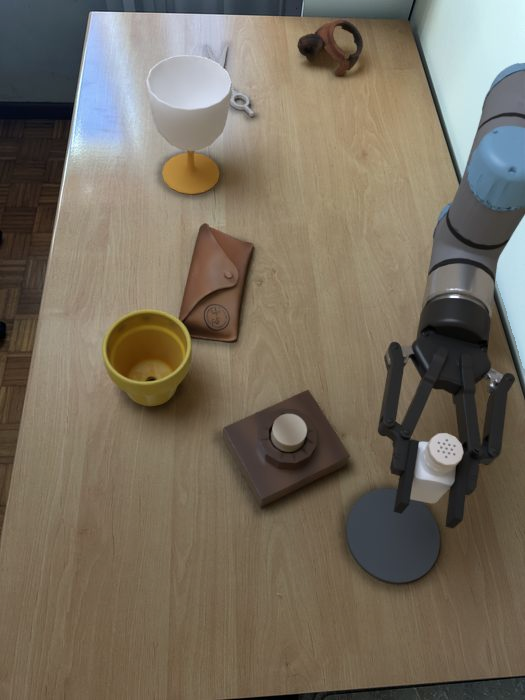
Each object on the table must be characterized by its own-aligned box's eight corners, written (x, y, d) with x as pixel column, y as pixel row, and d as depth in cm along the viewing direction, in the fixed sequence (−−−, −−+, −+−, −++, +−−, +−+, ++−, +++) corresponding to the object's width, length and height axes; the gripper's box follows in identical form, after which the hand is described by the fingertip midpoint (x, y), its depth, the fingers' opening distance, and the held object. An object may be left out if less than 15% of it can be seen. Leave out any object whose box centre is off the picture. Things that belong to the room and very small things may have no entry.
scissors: (190, 113, 111) (187, 38, 121) (191, 116, 112) (187, 42, 122) (253, 113, 113) (245, 40, 123) (253, 117, 113) (245, 43, 123)
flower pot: (196, 415, 84) (196, 378, 75) (113, 425, 82) (103, 388, 74) (188, 346, 89) (186, 304, 80) (109, 354, 87) (99, 311, 79)
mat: (439, 498, 80) (440, 496, 80) (437, 591, 75) (439, 590, 74) (349, 482, 81) (350, 480, 80) (341, 574, 75) (342, 573, 74)
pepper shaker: (435, 506, 68) (467, 473, 60) (396, 498, 68) (423, 464, 60) (437, 470, 70) (468, 433, 62) (399, 462, 70) (426, 424, 62)
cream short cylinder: (294, 415, 80) (296, 408, 78) (310, 443, 78) (313, 436, 76) (264, 429, 78) (266, 421, 77) (281, 457, 77) (283, 451, 75)
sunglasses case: (240, 342, 89) (215, 314, 84) (195, 350, 92) (169, 324, 87) (255, 240, 98) (234, 210, 94) (214, 250, 101) (191, 222, 97)
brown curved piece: (333, 40, 127) (359, 14, 120) (346, 87, 127) (373, 63, 120) (281, 37, 121) (305, 10, 114) (294, 86, 121) (319, 62, 114)
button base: (305, 399, 86) (310, 381, 82) (345, 465, 82) (353, 449, 77) (222, 437, 82) (223, 420, 78) (259, 508, 78) (263, 494, 74)
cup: (212, 210, 102) (214, 119, 87) (141, 187, 103) (131, 95, 88) (238, 160, 108) (244, 67, 93) (171, 139, 109) (166, 45, 94)
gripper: (519, 354, 76) (504, 553, 64) (371, 314, 77) (329, 502, 65) (548, 317, 69) (538, 531, 57) (387, 274, 70) (343, 475, 58)
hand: (427, 515), depth 61 cm, fingers closed on pepper shaker, 4 cm apart
